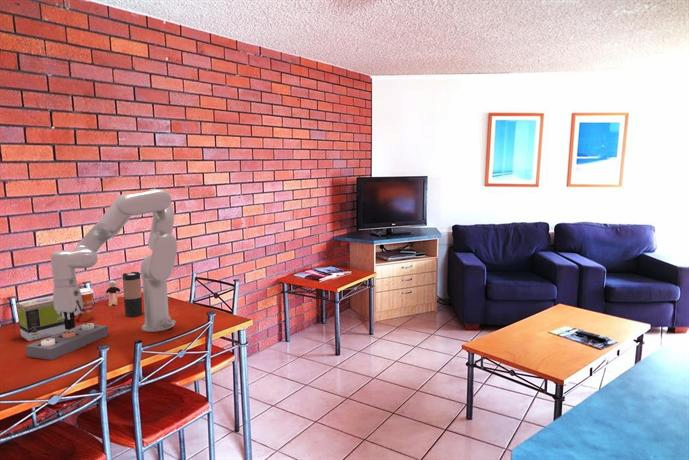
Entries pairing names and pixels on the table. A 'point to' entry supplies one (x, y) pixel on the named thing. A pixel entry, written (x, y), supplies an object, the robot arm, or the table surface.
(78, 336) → the button panel
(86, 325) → the sage button
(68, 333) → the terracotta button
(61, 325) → the tea box
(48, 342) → the white round knob
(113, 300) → the grandmother figurine
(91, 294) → the paper cup
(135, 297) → the travel mug
